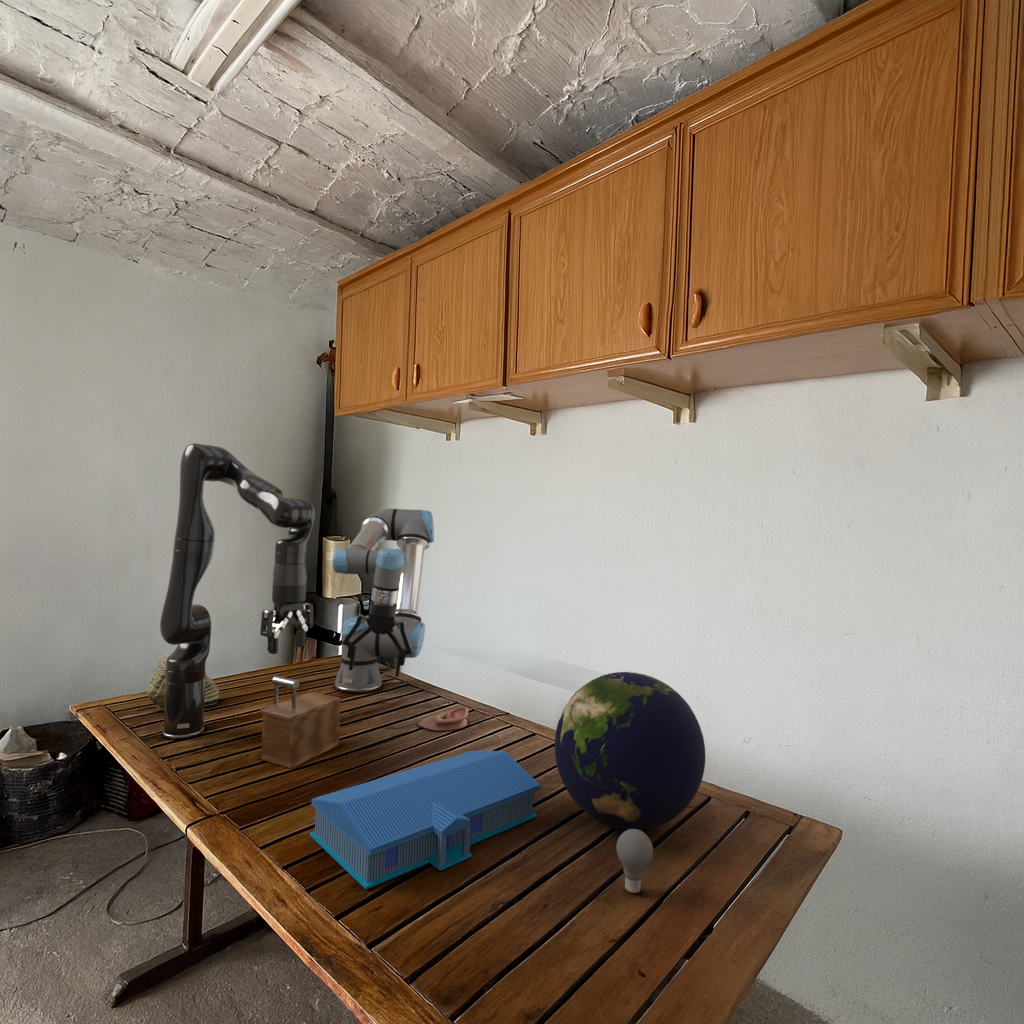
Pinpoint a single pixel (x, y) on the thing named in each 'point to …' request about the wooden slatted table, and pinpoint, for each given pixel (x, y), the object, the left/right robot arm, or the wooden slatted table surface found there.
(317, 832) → the model building
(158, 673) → the fossil
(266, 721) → the chest
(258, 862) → the wooden slatted table surface
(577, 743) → the globe
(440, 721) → the anatomical model
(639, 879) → the light bulb
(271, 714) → the lid
